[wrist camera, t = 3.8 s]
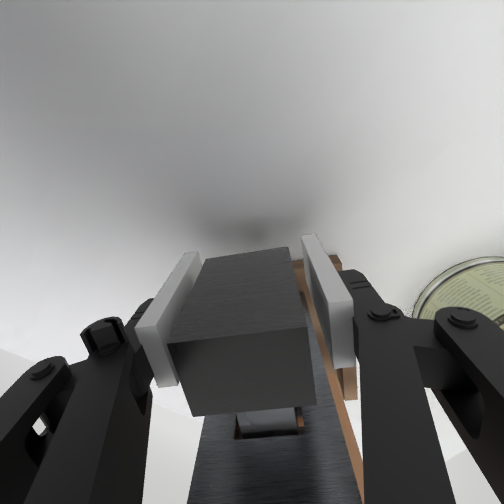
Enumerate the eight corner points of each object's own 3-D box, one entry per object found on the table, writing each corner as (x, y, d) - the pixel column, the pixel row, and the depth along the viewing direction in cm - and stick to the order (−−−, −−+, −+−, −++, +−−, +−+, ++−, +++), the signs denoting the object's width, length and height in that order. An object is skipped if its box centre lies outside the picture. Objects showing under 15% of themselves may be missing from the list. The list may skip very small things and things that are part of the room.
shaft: (205, 258, 13) (166, 343, 8) (287, 246, 13) (307, 326, 7) (267, 495, 21) (269, 627, 15) (321, 491, 20) (344, 625, 15)
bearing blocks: (228, 302, 22) (183, 518, 9) (303, 291, 21) (363, 507, 9) (254, 408, 26) (247, 651, 14) (317, 402, 26) (369, 650, 13)
